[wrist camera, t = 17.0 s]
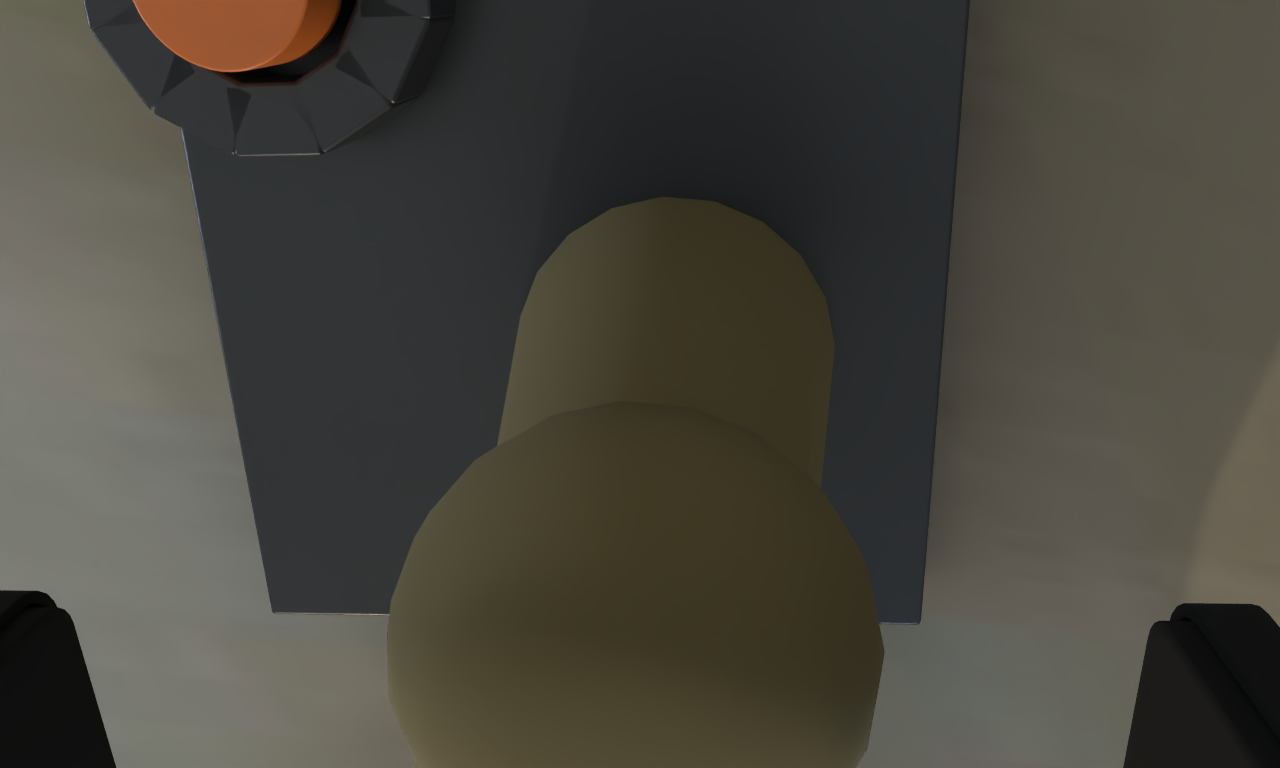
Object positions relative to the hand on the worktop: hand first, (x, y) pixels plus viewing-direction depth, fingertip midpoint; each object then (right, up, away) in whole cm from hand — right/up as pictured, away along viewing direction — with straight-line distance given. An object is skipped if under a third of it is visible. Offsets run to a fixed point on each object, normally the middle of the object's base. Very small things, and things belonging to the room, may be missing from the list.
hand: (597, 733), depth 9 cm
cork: (+1, +4, +11) cm, 11 cm away
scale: (-1, +6, +12) cm, 13 cm away
